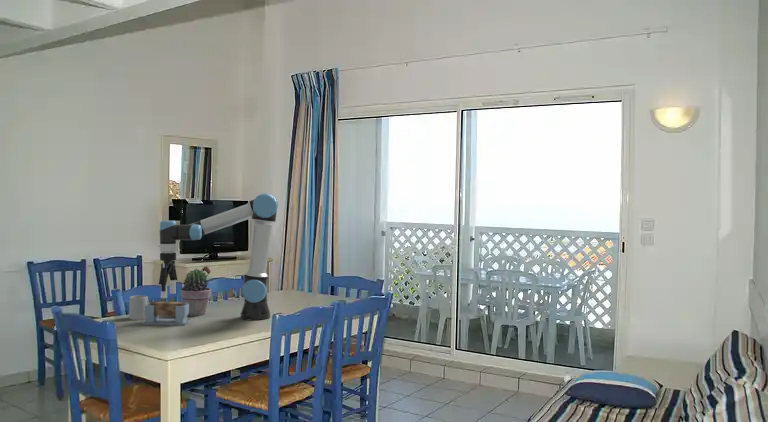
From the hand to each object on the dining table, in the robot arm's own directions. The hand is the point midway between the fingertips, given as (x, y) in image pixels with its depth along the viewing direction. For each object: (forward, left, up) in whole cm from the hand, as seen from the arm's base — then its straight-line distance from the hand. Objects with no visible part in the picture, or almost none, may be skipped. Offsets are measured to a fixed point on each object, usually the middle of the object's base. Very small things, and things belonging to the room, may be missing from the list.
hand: (168, 295), depth 304 cm
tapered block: (0, 0, -9) cm, 9 cm away
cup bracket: (0, 0, -13) cm, 13 cm away
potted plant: (-7, -23, -14) cm, 27 cm away
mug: (+17, -12, -14) cm, 25 cm away
